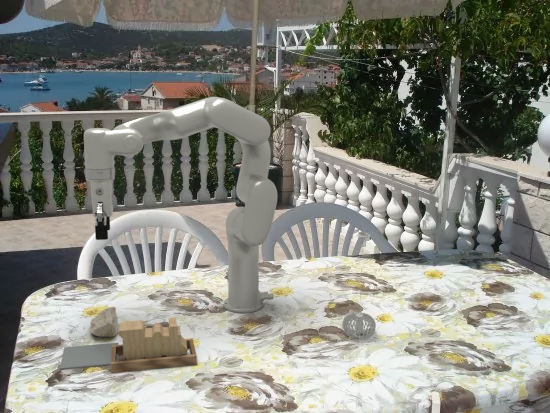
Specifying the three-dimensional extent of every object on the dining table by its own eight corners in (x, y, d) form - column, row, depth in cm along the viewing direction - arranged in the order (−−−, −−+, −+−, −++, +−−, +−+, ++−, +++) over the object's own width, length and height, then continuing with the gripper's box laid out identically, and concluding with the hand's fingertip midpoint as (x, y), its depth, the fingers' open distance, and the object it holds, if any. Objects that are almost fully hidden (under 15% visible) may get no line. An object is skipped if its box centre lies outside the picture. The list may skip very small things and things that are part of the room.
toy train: (187, 361, 159) (186, 325, 157) (119, 367, 156) (117, 330, 154) (186, 352, 164) (185, 316, 162) (120, 357, 161) (118, 321, 159)
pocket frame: (192, 346, 167) (192, 338, 167) (196, 364, 157) (196, 355, 157) (112, 353, 163) (111, 345, 162) (111, 372, 153) (110, 364, 152)
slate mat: (118, 343, 169) (118, 342, 168) (117, 364, 157) (117, 362, 157) (64, 348, 165) (64, 347, 165) (59, 369, 154) (59, 368, 154)
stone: (89, 349, 173) (87, 327, 167) (91, 314, 182) (89, 291, 176) (118, 347, 175) (117, 325, 168) (118, 313, 184) (117, 290, 177)
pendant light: (377, 331, 178) (383, 230, 172) (371, 344, 170) (377, 239, 163) (346, 326, 181) (350, 227, 175) (338, 339, 173) (342, 235, 166)
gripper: (112, 179, 162) (115, 242, 165) (116, 168, 178) (118, 226, 182) (82, 180, 160) (86, 243, 164) (88, 169, 177) (91, 227, 181)
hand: (103, 234), depth 173 cm, fingers open, 9 cm apart
